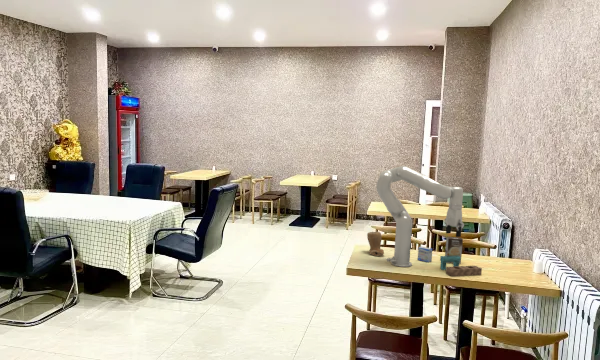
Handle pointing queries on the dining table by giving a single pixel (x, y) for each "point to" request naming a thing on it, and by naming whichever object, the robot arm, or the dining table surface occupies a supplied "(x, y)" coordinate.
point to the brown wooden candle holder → (463, 271)
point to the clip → (445, 259)
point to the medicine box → (424, 254)
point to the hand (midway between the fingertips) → (453, 235)
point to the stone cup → (375, 243)
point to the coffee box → (454, 247)
